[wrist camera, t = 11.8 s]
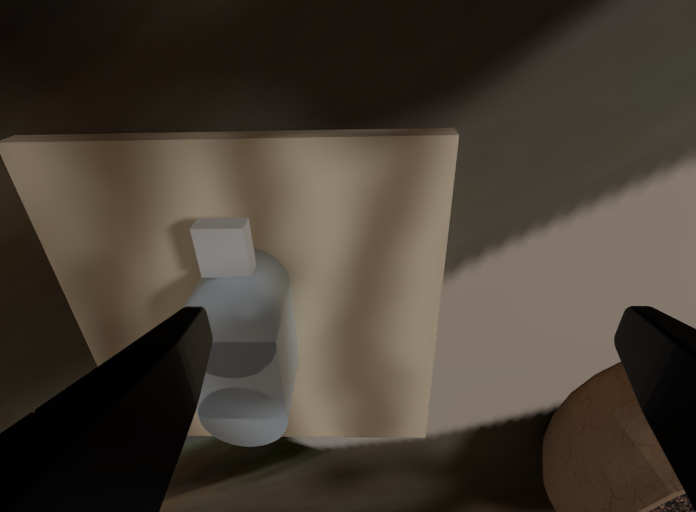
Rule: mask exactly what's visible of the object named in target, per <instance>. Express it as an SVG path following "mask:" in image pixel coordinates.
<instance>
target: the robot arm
mask: <svg viewBox="0 0 696 512" xmlns="http://www.w3.org/2000/svg"><path fill="white" fill-rule="evenodd" d="M212 343H213V336H212V331H211V327H210V323H209V319H208V316H207V312H206V310H205V308H204V307H202V306H186V307H184V308H182V309H180V310H179V311H177V312H176V313H175V314H173V315H172V316H170V317H169V318H167V319H166V320H164V321H163V322H162V323H160V324H159V325H157V326H156V327H154V328H153V329H151V330H150V331H149V332H147V333H146V334H144V335H143V336H141V337H140V338H138V339H137V340H135V341H134V342H133V343H131V344H130V345H128V346H127V347H125V348H124V349H122V350H121V351H120V352H118V353H117V354H115V355H114V356H112V357H111V358H109V359H108V360H107V361H105V362H104V363H102V364H101V365H99V366H98V367H96V368H95V369H93V370H92V371H91V372H89V373H88V374H86V375H85V376H83V377H82V378H80V379H79V380H78V381H76V382H75V383H73V384H72V385H70V386H69V387H67V388H66V389H64V390H63V391H62V392H60V393H59V394H57V395H56V396H54V397H53V398H51V399H50V400H49V401H47V402H46V403H44V404H43V405H41V406H40V407H38V408H37V409H36V410H35V413H34V412H31V413H29V414H28V415H27V416H25V417H24V418H22V419H21V420H19V421H18V422H16V423H15V424H14V425H12V426H11V427H9V428H8V429H6V430H5V431H3V432H2V433H0V512H159V510H160V508H161V505H162V502H163V500H164V497H165V494H166V491H167V489H168V486H169V483H170V481H171V478H172V475H173V472H174V470H175V467H176V464H177V461H178V459H179V456H180V453H181V451H182V448H183V445H184V442H185V440H186V437H187V434H188V431H189V429H190V426H191V423H192V421H193V418H194V415H195V412H196V409H197V405H198V402H199V398H200V394H201V390H202V386H203V381H204V377H205V373H206V369H207V365H208V361H209V356H210V352H211V348H212ZM614 343H615V347H616V350H617V352H618V355H619V357H620V359H621V362H622V365H623V367H624V369H625V372H626V374H627V377H628V379H629V382H630V384H631V387H632V389H633V391H634V394H635V396H636V399H637V401H638V403H639V406H640V408H641V410H642V412H643V414H644V416H645V418H646V420H647V422H648V424H649V426H650V428H651V430H652V432H653V433H654V435H655V437H656V439H657V441H658V443H659V445H660V446H661V448H662V450H663V452H664V454H665V456H666V458H667V459H668V461H669V463H670V465H671V467H672V469H673V471H674V472H675V474H676V476H677V478H678V480H679V482H680V484H681V485H682V487H683V489H684V491H685V493H686V495H687V497H688V498H689V500H690V502H691V504H692V506H693V508H694V510H695V511H696V329H695V328H692V327H691V326H688V325H687V324H685V323H682V322H680V321H679V320H677V319H675V318H673V317H671V316H669V315H667V314H665V313H663V312H660V311H659V310H657V309H655V308H653V307H650V306H631V307H628V308H627V309H626V310H625V311H624V314H623V316H622V319H621V321H620V324H619V326H618V329H617V331H616V334H615V338H614Z"/></svg>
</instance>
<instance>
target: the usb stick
mask: <svg viewBox="0 0 696 512" xmlns="http://www.w3.org/2000/svg"><path fill="white" fill-rule="evenodd" d="M190 232H191V236H192V240H193V244H194V248H195V253H196V257H197V261H198V265H199V269H200V273H201V278H200V280H199V282H198V283H197V285H196V287H195V289H194V290H193V292H192V294H191V296H190V297H189V299H188V301H187V303H186V304H185V306H184V307H186V306H202V307H204V308H205V310H206V312H207V316H208V319H209V323H210V327H211V331H212V336H213V343H212V348H211V352H210V356H209V361H208V365H207V369H206V373H205V377H204V381H203V386H202V390H201V394H200V398H199V402H198V405H197V409H196V412H197V415H198V418H199V420H200V423H201V424H202V426H203V427H204V428H205V429H206V430H207V431H208V432H209V433H210V434H211V435H213V436H214V437H216V438H218V439H220V440H222V441H224V442H227V443H230V444H233V445H238V446H248V447H252V446H261V445H266V444H269V443H271V442H274V441H275V440H277V439H279V438H280V437H281V436H282V435H283V434H284V432H285V431H286V428H287V425H288V419H289V413H290V407H291V402H292V396H293V390H294V384H295V378H296V373H297V367H298V361H299V351H298V343H297V334H296V326H295V317H294V309H293V301H292V292H291V284H290V278H289V276H288V273H287V271H286V269H285V268H284V267H283V265H282V264H281V263H280V262H279V261H278V260H277V259H276V258H274V257H273V256H271V255H270V254H268V253H266V252H264V251H262V250H259V249H256V248H254V247H253V241H252V235H251V229H250V223H249V218H198V219H197V220H196V221H195V223H194V224H193V225H192V227H191V228H190Z"/></svg>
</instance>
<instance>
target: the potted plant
mask: <svg viewBox="0 0 696 512" xmlns="http://www.w3.org/2000/svg"><path fill="white" fill-rule="evenodd" d="M543 480H544V486H545V489H546V492H547V494H548V497H549V500H550V501H551V503H552V505H553V507H554V509H555V511H556V512H696V511H695V510H694V508H693V506H692V504H691V502H690V500H689V498H688V497H687V495H686V493H685V491H684V489H683V487H682V485H681V484H680V482H679V480H678V478H677V476H676V474H675V472H674V471H673V469H672V467H671V465H670V463H669V461H668V459H667V458H666V456H665V454H664V452H663V450H662V448H661V446H660V445H659V443H658V441H657V439H656V437H655V435H654V433H653V432H652V430H651V428H650V426H649V424H648V422H647V420H646V418H645V416H644V414H643V412H642V410H641V408H640V406H639V403H638V401H637V399H636V396H635V394H634V391H633V389H632V387H631V384H630V382H629V379H628V377H627V374H626V372H625V369H624V367H623V365H622V362H619V363H617V364H615V365H614V366H611V367H610V368H608V369H605V370H603V371H602V372H600V373H598V374H596V375H594V376H593V377H592V378H590V379H589V380H588V381H586V382H585V383H584V384H582V385H581V386H580V387H578V388H577V389H576V390H574V391H573V392H572V393H571V394H570V395H569V396H568V397H567V399H566V400H565V401H564V402H563V403H562V404H561V406H560V407H559V408H558V409H557V410H556V412H555V413H554V415H553V416H552V419H551V421H550V423H549V426H548V428H547V430H546V433H545V435H544V440H543Z"/></svg>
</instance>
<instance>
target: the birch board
mask: <svg viewBox="0 0 696 512" xmlns="http://www.w3.org/2000/svg"><path fill="white" fill-rule="evenodd" d="M458 140H459V134H458V133H457V131H456V130H455V129H454V128H401V129H343V130H285V131H227V132H168V133H110V134H52V135H13V136H11V137H8V138H6V139H3V140H1V141H0V155H1V157H2V159H3V161H4V164H5V166H6V168H7V170H8V172H9V174H10V177H11V179H12V181H13V183H14V185H15V187H16V190H17V192H18V194H19V196H20V198H21V201H22V203H23V205H24V207H25V209H26V211H27V214H28V216H29V218H30V220H31V222H32V225H33V227H34V229H35V231H36V233H37V235H38V238H39V240H40V242H41V244H42V246H43V249H44V251H45V253H46V255H47V257H48V259H49V262H50V264H51V266H52V268H53V270H54V273H55V275H56V277H57V279H58V281H59V283H60V286H61V288H62V290H63V292H64V294H65V296H66V299H67V301H68V303H69V305H70V307H71V310H72V312H73V314H74V316H75V318H76V320H77V323H78V325H79V327H80V329H81V331H82V334H83V336H84V338H85V340H86V342H87V344H88V347H89V349H90V351H91V353H92V355H93V358H94V360H95V362H96V364H97V366H99V365H101V364H102V363H104V362H105V361H107V360H108V359H109V358H111V357H112V356H114V355H115V354H117V353H118V352H120V351H121V350H122V349H124V348H125V347H127V346H128V345H130V344H131V343H133V342H134V341H135V340H137V339H138V338H140V337H141V336H143V335H144V334H146V333H147V332H149V331H150V330H151V329H153V328H154V327H156V326H157V325H159V324H160V323H162V322H163V321H164V320H166V319H167V318H169V317H170V316H172V315H173V314H175V313H176V312H177V311H179V310H180V309H182V308H184V306H185V304H186V303H187V301H188V299H189V297H190V296H191V294H192V292H193V290H194V289H195V287H196V285H197V283H198V282H199V280H200V278H201V273H200V269H199V265H198V261H197V257H196V253H195V248H194V244H193V240H192V236H191V232H190V228H191V227H192V225H193V224H194V223H195V221H196V220H197V219H198V218H249V223H250V229H251V235H252V241H253V247H254V248H256V249H259V250H262V251H264V252H266V253H268V254H270V255H271V256H273V257H274V258H276V259H277V260H278V261H279V262H280V263H281V264H282V265H283V267H284V268H285V269H286V271H287V273H288V276H289V278H290V284H291V292H292V301H293V309H294V317H295V326H296V334H297V343H298V351H299V361H298V367H297V373H296V378H295V384H294V390H293V396H292V402H291V407H290V413H289V419H288V425H287V428H286V431H285V432H284V434H283V435H282V436H281V437H398V438H425V436H426V426H427V418H428V409H429V400H430V390H431V382H432V373H433V364H434V355H435V347H436V346H435V345H436V338H437V337H436V336H437V328H438V319H439V311H440V302H441V292H442V284H443V275H444V266H445V257H446V248H447V239H448V230H449V221H450V212H451V203H452V194H453V185H454V176H455V167H456V158H457V149H458ZM187 436H213V435H211V434H210V433H209V432H208V431H207V430H206V429H205V428H204V427H203V426H202V424H201V423H200V420H199V418H198V415H197V412H195V415H194V418H193V421H192V423H191V426H190V429H189V431H188V434H187Z"/></svg>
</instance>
